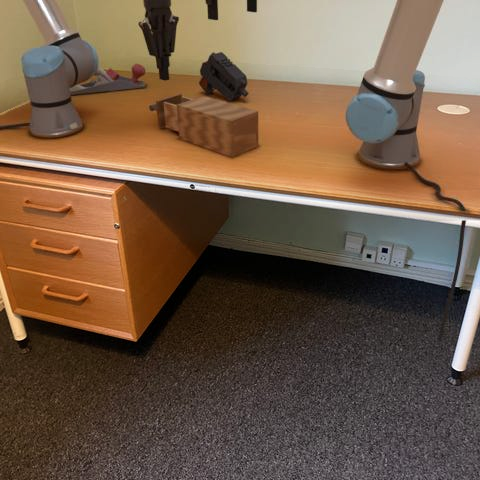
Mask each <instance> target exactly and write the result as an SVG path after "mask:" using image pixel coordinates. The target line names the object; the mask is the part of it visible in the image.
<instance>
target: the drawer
mask: <svg viewBox="0 0 480 480" xmlns="http://www.w3.org/2000/svg"><path fill="white" fill-rule="evenodd" d="M193 99H194V98H190V97H187V96H183V94H182V93H176V94H172V95H169V96H167V97H163V98H160V99H156V100H155V103H154V104H150V105H149V106H148V108H149V111H150V112H153V111H156V118H157V126H158V128H159V129H163V128H166V129H170V130H172V131H175V132H178V133H179V128H178V116H177V104H180V103H183V102H187V101H190V100H193Z"/></svg>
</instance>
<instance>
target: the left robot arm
mask: <svg viewBox="0 0 480 480" xmlns="http://www.w3.org/2000/svg"><path fill="white" fill-rule="evenodd" d="M22 1H23V3H24V5H25V7H26V9H27V10H28V12H29V15H30V16H31V18H32V19H33V21H34V24H35V25H36V28H37V29H38V30H39V33H40V34H41V36H42V38H43V40H44V43H43V45H41V46H38V47H34V48H30V49H29V50H27V51H25V52H24V53H23V54H22V56H21V59H20V60H21V61H20V62H21V67H22V68H21V70H22V74H23V78H24V81H25V86H26V89H27V93H28V97H29V102H30V106H31V110H30V120H29V122H21V123H15V124H6V125H0V130H4V129H13V128H21V127H29V130H30V134H31V135H32V136H34V137H36V138H40V139H59V138H64V137H69V136H71V135H74V134H75V135H76V134H77V133H79V132H80V131H81V130H83V128H84V125H83V120H82V118H81V117H80V115H79V112H78V111H77V109H76V107H75V105H74V103H73V99H72V95H71V94H70V88H71V87H73V86H75V85H77V84H78V85H81V84H83V83H85V82H88V80H90V79H91V78H92V77H95V73H96V71H97V69H98V66H99V62H100V60H99V55H98V52H97V50H96V48H95V47H94V46H93V44H92V43H90V42H88V41H87V40H84V39H83V38H82V37H81V35H80V33H79V32H78V31H77V30H75V29H74V28H73V29H72V28H71V26H70V24H69V23H68V21H67V19H66V17H65V15H64V13H63V12H62V9H61V7H60V5H59V4H58V1H57V0H22ZM142 3H143V7H144V9H145V13H144V18H143V20H142V21H138V27H139V28H140V30H141V31H142V35H143V38H144V41H145V44H146V48H147V51H148V55H149V56H151V57H155V63H156V64H155V65H156V69H158V77H159V80H162V81H165V82H167V81H170V70H169V68H170V67H171V63H170V57H172V56H173V55H172V54H173V53H175V48H176V37H177V28H178V27H177V26H178V23H179V20H180V17H179V16H176V15H174V14H173V12H172V9H171V7H172V0H142Z"/></svg>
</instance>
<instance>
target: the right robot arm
mask: <svg viewBox="0 0 480 480" xmlns="http://www.w3.org/2000/svg"><path fill="white" fill-rule="evenodd" d="M444 1H445V0H396V2H395V6H394V7H393V11H392V13H391V17H390V20H389V23H388V25H387V28H386V31H385V34H384V37H383V40H382V43H381V46H380V49H379V51H378V54H377V57H376V60H375V63H374V66H373V67H372V68H370V69H368V70H366V71H365V72H364V74H363V77H362V79H361V82H360V85H359V88H358V91H357V94H356V96H354V97H353V98H352V99H351V100H350V102H349V103H348V105H347V107H346V110H345V123H346V125H347V127H348V129H349V132H350V133H351V134H352V135H353V136H354V137H355V138H356V139H358V140H359V141H361V142H362V143H361V145H360V147H359V151H358V159H359V160H360V162H362V163H363V164H364V165H367V166H369V167H372V168H374V169H378V170H385V171H403V170H409V171H411V172H412V174H414V176H415V177H416V178H417V179H418V180H419V181H420V182H422V183H424V184H426V185H429V186H432V187H434V188H435V189H436V192H435V195H436V197H437V198H438V199H439V200H442V201H444V202H451V203H453V204H456V205H457V206H458V207H459V210H460V211H462V212H466V211H467V210H466V208H465V206H464V204H463V202H461V201H460V200H458V199H457V198H454V197H448V196H444V195H442V194H441V191H442V189H441V186H440V185H439V184H438V183H436V182H433V181H431V180H428V179H426V178H424V177H423V176H421V174H420V173H419V172H418V171H417V170H416V169H415V168H414V167H416V166H418V164H419V163H420V158H421V153H420V151H421V150H420V146H419V140H418V135H417V130H418V124H419V119H420V111H421V108H422V107H421V105H422V99H423V96H424V95H423V93H424V88H425V86H426V84H425V82H426V81H425V79H426V76H425V74H424V72H423V71H421V70H417V68H418V66H419V64H420V61H421V58H422V56H423V54H424V51H425V48H426V46H427V43H428V41H429V38H430V36H431V34H432V31H433V28H434V26H435V23H436V21H437V18H438V15H439V14H440V10H441V8H442V6H443V3H444ZM204 2H205V4H206V7H207V20H211V21H218V20H219V1H218V0H205V1H204ZM246 12H249V13H258V0H246ZM466 224H467V220H465V219H464V220H461V224H460V230H459V240H458V250H457V256H456V263H455V268H454V272H453V277H452V281H451V285H450V289H449V293H448V298H447V302H446V305H445V309H444V313H443V316H442V321H441V324H440V328H439V333H438V337H437V341H438V342H442V340H443V336H444V331H445V327H446V322H447V320H448V319H447V318H448V315H449V311H450V308H451V304H452V300H453V298H454V293H455V289H456V285H457V281H458V276H459V272H460V267H461V262H462V256H463V249H464V240H465V230H466Z"/></svg>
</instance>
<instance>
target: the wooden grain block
mask: <svg viewBox="0 0 480 480" xmlns="http://www.w3.org/2000/svg"><path fill="white" fill-rule="evenodd" d="M192 99H193V100H190V101H187V102H183V103H180V104H177V116H178V128H179V132H178V138H179V140H182V141H185V142H188V143H191V144H193V145H196V146H199V147H202V148H205V149H208V150H210V151H214V152H216V153H219V154H222V155H224V156H227V157H230V158H235V157H238V156H239V155H242V154H244V153H246V152H248V151H250V150H253V149H255V148H258V147H259V110H256V109H254V108H253V109H252V108H248V107H244V106H240V105H237V104H234V103H231V102H227V101H223V100H219V99H216V98H211V97H208V96H206V95H205V96H204V95H203V96H199V97H196V98H192Z"/></svg>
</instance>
